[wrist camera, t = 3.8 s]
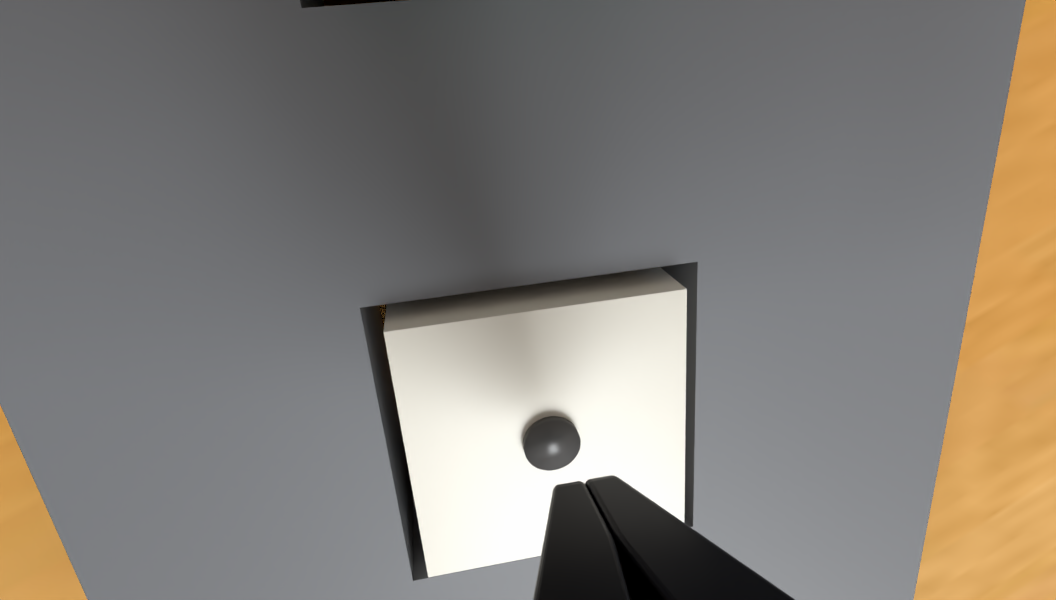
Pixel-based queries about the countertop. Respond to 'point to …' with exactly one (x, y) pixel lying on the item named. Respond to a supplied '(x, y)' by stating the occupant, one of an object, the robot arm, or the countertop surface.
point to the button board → (480, 263)
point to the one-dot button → (536, 405)
